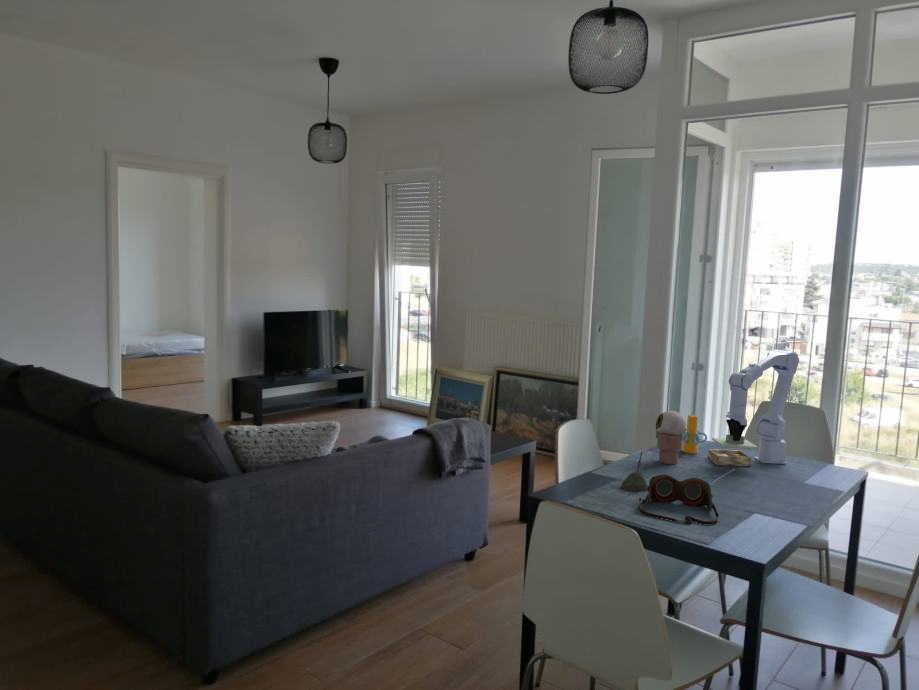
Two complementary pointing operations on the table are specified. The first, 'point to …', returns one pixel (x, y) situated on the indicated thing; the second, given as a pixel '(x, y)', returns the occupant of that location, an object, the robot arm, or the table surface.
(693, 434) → the yellow post with rings
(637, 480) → the sword in stone
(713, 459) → the crate
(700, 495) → the goggles
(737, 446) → the lid
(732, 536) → the table surface
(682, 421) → the ice cream cone
